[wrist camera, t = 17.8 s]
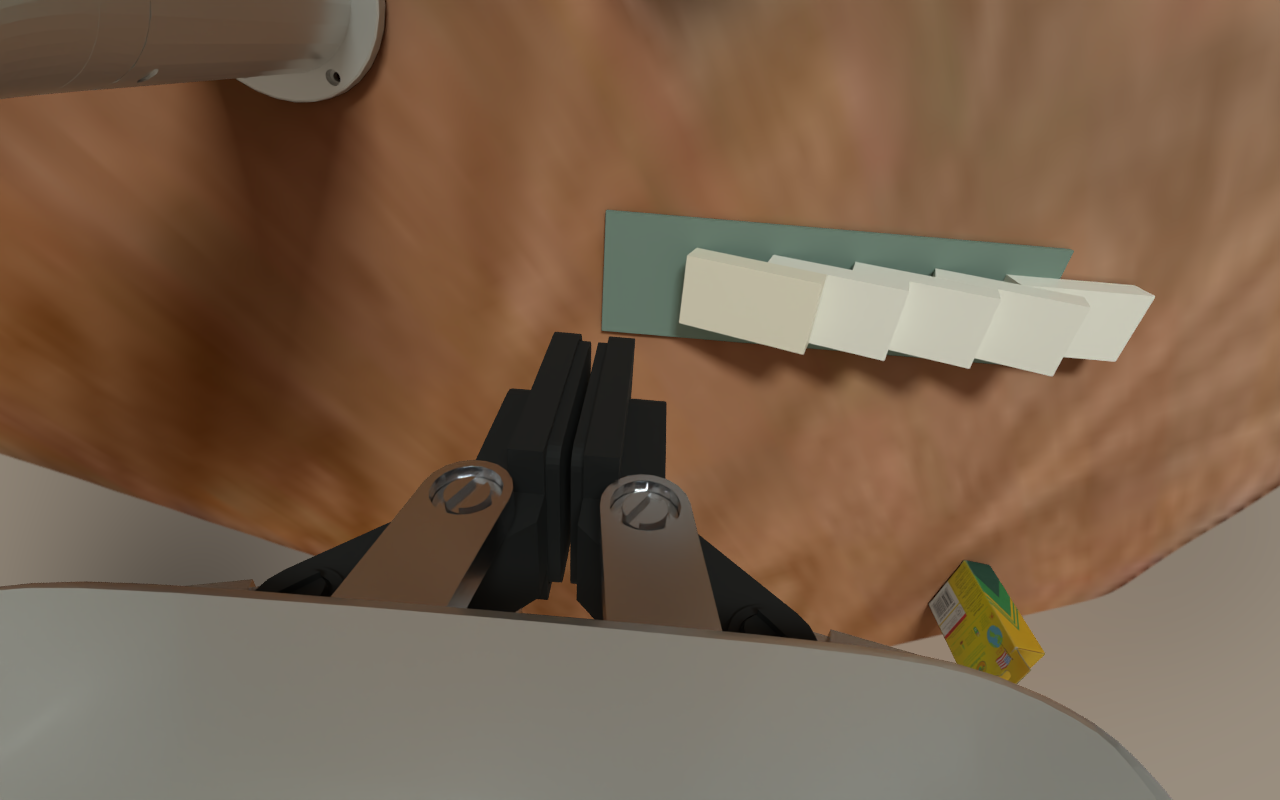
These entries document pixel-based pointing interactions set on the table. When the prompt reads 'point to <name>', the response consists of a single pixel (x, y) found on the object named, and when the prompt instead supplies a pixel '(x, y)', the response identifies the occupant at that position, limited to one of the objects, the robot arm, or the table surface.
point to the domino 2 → (854, 308)
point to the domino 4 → (1027, 324)
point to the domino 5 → (1098, 314)
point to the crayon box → (984, 624)
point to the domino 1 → (751, 299)
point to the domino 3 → (940, 316)
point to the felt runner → (659, 244)
